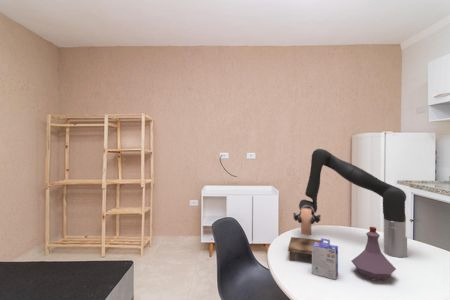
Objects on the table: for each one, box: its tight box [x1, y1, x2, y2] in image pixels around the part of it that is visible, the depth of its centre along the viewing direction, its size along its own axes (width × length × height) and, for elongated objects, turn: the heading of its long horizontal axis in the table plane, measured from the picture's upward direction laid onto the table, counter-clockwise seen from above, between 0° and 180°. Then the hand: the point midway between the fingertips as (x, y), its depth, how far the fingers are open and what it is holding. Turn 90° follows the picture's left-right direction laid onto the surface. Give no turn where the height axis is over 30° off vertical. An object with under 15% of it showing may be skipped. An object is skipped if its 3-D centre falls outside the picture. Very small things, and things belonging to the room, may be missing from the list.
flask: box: [351, 226, 397, 281], centre depth 106 cm, size 16×16×20 cm
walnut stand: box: [287, 236, 324, 262], centre depth 124 cm, size 16×16×6 cm
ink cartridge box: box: [311, 237, 339, 280], centre depth 106 cm, size 10×6×14 cm, turn 58°
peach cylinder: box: [300, 208, 312, 236], centre depth 124 cm, size 5×5×12 cm
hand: (306, 221), depth 122 cm, fingers closed on peach cylinder, 5 cm apart
